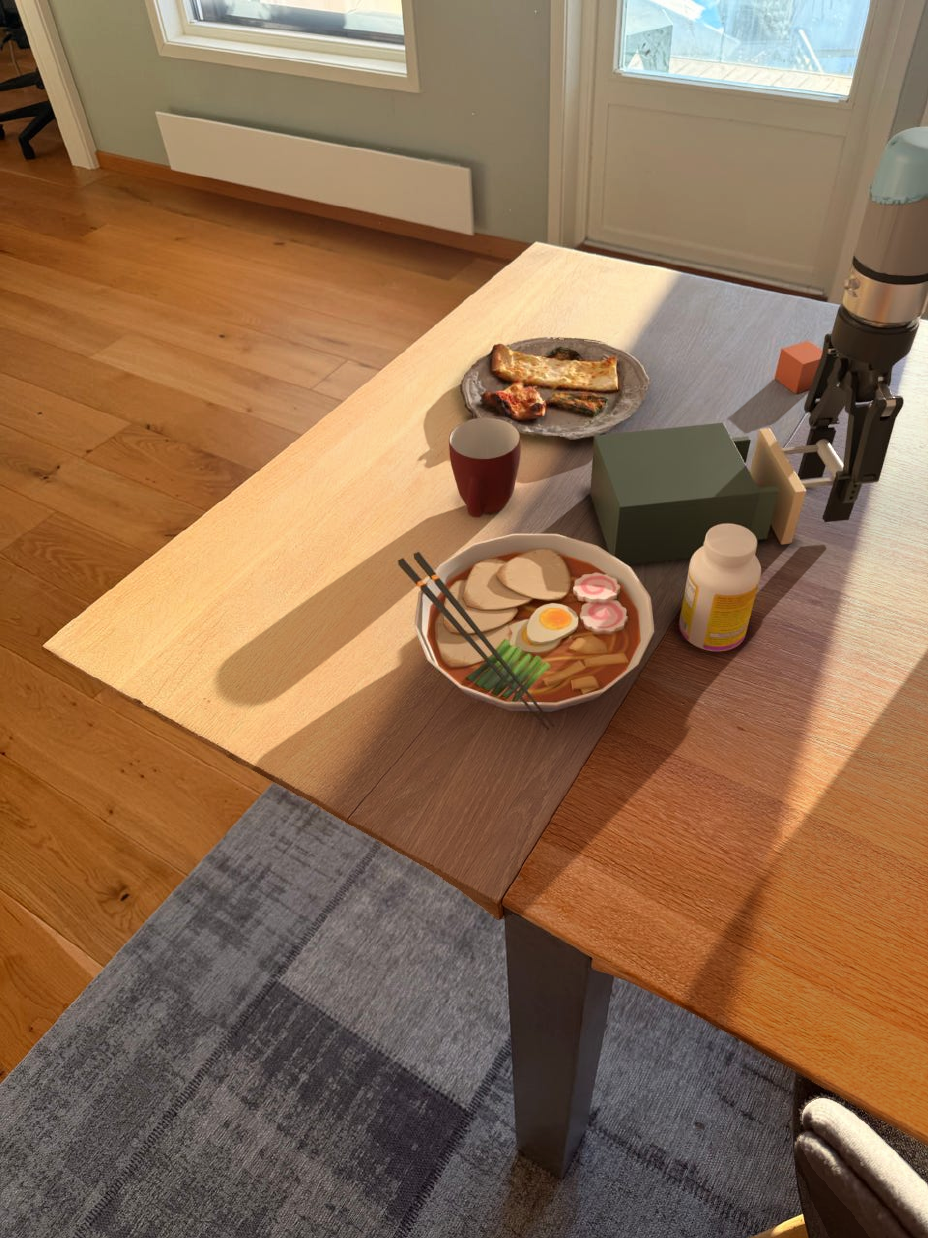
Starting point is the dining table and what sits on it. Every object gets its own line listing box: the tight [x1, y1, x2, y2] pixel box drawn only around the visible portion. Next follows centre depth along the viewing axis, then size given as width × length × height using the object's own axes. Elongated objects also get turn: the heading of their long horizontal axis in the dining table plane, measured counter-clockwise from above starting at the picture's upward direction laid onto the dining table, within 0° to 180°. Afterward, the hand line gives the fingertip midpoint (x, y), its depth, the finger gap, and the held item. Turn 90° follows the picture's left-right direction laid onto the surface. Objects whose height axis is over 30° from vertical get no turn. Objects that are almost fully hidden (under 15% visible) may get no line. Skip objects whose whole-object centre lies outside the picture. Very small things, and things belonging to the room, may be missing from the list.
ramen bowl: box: [397, 533, 655, 730], centre depth 88 cm, size 25×23×8 cm
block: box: [774, 340, 823, 395], centre depth 122 cm, size 4×4×4 cm
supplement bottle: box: [678, 524, 762, 652], centre depth 88 cm, size 7×7×13 cm
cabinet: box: [589, 422, 760, 565], centre depth 101 cm, size 15×13×9 cm
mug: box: [448, 417, 522, 518], centre depth 104 cm, size 10×8×10 cm
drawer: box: [731, 427, 844, 545], centre depth 101 cm, size 20×12×7 cm, turn 96°
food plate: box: [459, 336, 651, 441], centre depth 123 cm, size 25×23×4 cm
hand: (822, 496), depth 103 cm, fingers closed on drawer, 7 cm apart
